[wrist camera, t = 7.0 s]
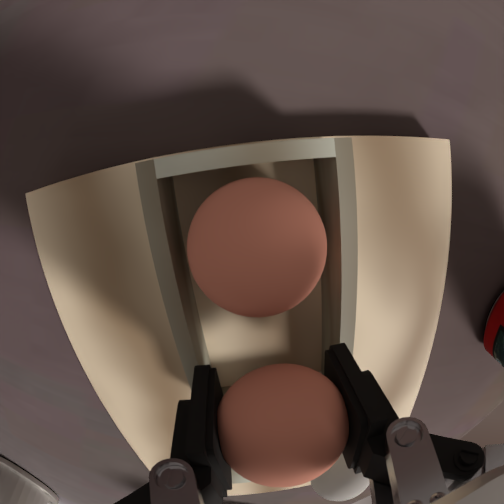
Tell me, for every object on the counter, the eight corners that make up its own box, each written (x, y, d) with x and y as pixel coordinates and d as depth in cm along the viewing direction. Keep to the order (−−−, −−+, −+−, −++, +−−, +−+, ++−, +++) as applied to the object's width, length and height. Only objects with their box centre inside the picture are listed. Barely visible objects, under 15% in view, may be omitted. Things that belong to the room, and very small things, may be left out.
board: (172, 483, 19) (169, 517, 16) (42, 189, 11) (-9, 203, 8) (384, 450, 20) (398, 480, 16) (431, 139, 12) (484, 140, 8)
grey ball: (304, 470, 17) (315, 514, 13) (304, 442, 16) (319, 495, 12) (358, 456, 17) (374, 497, 13) (366, 426, 16) (388, 474, 12)
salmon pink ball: (204, 347, 9) (195, 454, 5) (330, 327, 10) (382, 420, 5) (226, 423, 11) (229, 510, 7) (326, 407, 11) (356, 487, 7)
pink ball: (205, 289, 12) (195, 354, 8) (186, 182, 11) (159, 197, 6) (309, 274, 12) (347, 330, 8) (301, 168, 11) (345, 174, 7)
